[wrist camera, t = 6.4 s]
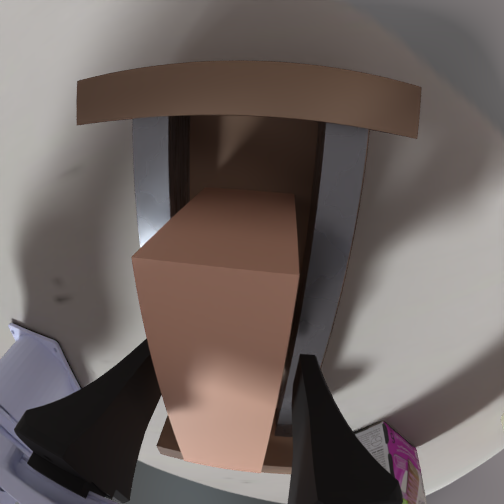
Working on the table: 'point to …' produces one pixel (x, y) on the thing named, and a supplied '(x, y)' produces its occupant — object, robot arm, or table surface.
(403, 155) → the table surface
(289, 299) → the salmon orange block
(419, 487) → the candy bar box
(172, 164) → the track base
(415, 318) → the table surface
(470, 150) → the table surface
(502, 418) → the reusable coffee cup
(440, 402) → the table surface
